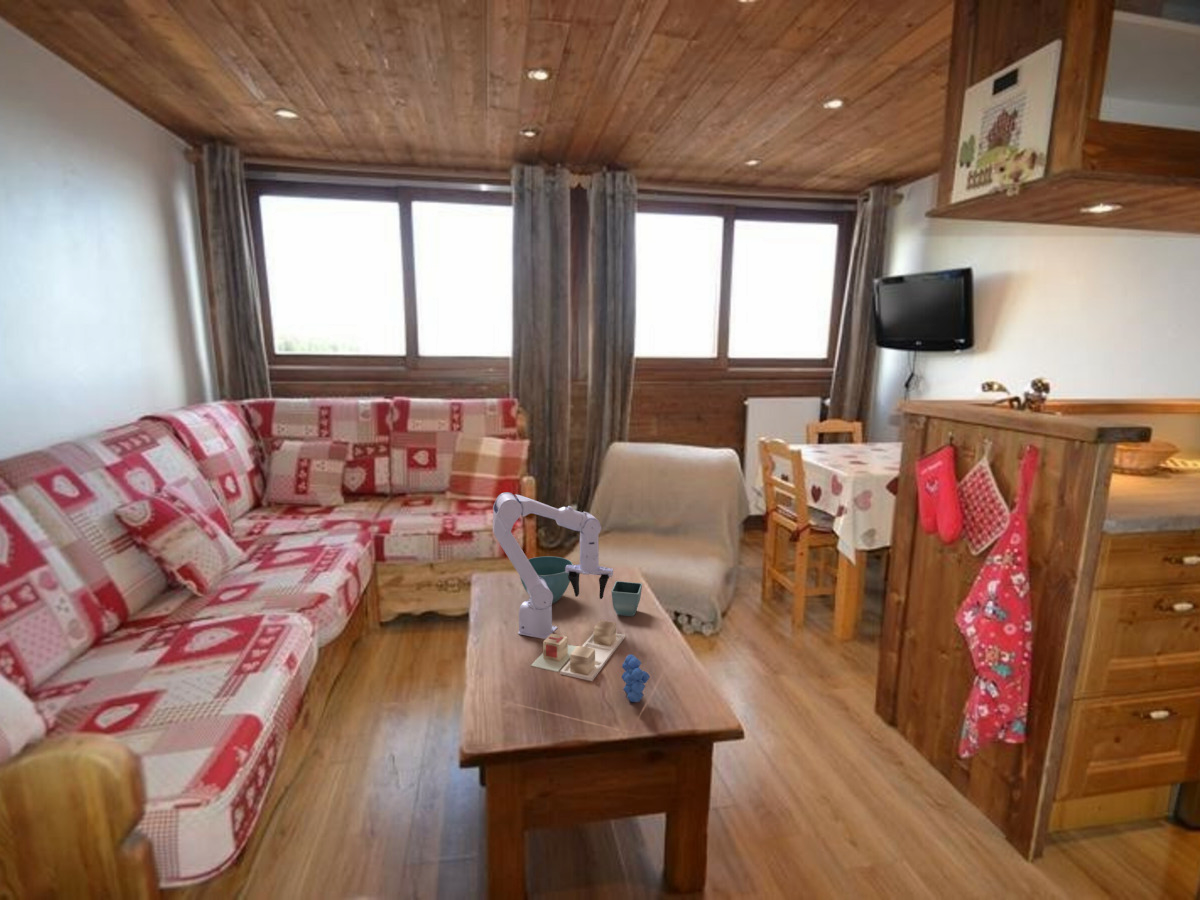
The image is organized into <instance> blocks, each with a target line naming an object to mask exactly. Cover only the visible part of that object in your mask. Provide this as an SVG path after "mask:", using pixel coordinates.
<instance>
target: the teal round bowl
mask: <svg viewBox="0 0 1200 900" xmlns="http://www.w3.org/2000/svg"><path fill="white" fill-rule="evenodd" d="M527 559H528V560H529V562H530V563H531V565H532V567H533V568H534V570H535V571H536V573H537V574H538V576H539V577H540V578H542V579H544V580H545V581H546V583H547V586H548V588H549V590H550V591H551V592H552V594H553V601H552V604H555V603H557V602H558V601H559V600H560V599H561V598H562V597H563V596H564V594H565V593H566V591H567V589H568V587H569V585H570V584H571V582H570V580H569V579H568V575H569V573H565V567H566V566H567V565H574V564H573V562H572V561H571V560H570V559H567V558H564V557H561V556H547V555H546V556H545V555H544V556H537V557H532V558H527ZM519 578H520V582H521V584H522V586H523V589H524V590H525V592H526V593H527V594H528V592H527V587H526V585H525V583H524V582H523V580H522V578H521V577H520V576H519ZM528 596H529V594H528Z"/></svg>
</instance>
